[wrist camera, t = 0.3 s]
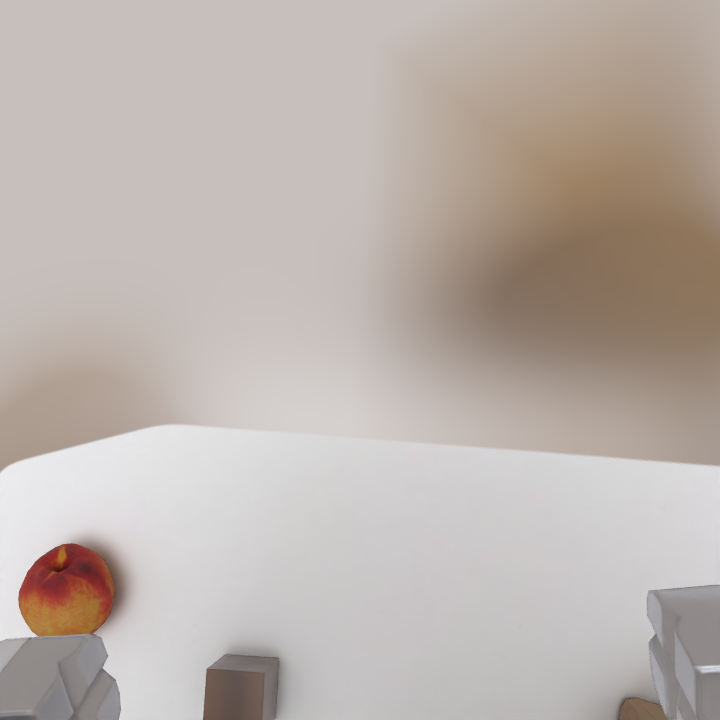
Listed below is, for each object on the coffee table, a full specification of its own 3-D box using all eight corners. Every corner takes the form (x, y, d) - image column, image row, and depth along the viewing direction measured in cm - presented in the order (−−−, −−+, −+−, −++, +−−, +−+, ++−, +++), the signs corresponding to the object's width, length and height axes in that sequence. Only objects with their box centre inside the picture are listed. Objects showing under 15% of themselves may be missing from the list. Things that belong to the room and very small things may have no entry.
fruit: (145, 566, 64) (104, 577, 56) (106, 648, 63) (58, 671, 55) (76, 530, 65) (26, 536, 58) (37, 609, 65) (-19, 626, 57)
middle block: (279, 657, 61) (264, 672, 56) (275, 717, 60) (261, 738, 55) (225, 654, 62) (206, 668, 57) (221, 713, 61) (201, 733, 56)
